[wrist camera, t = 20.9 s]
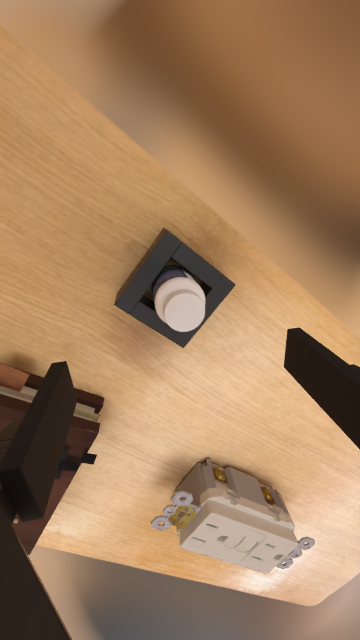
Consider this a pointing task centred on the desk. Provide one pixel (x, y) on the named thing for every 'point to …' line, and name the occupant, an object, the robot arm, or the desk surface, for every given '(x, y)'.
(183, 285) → the pill bottle
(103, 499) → the desk surface
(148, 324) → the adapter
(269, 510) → the electrical outlet
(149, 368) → the desk surface
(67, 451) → the decorative book
